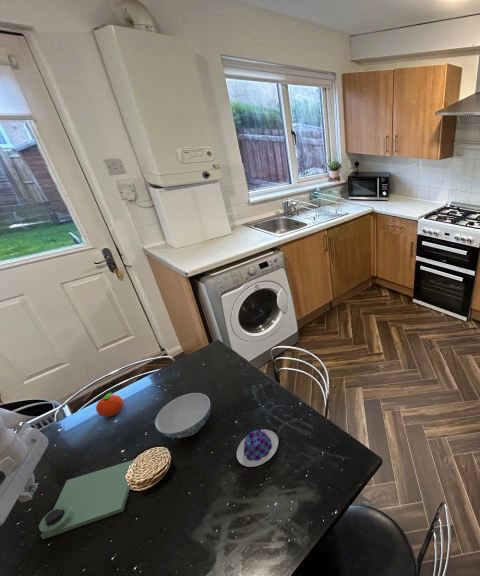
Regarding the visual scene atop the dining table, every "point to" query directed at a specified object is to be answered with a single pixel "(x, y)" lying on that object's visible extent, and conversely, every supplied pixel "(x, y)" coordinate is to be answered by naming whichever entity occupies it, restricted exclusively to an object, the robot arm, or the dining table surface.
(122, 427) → the dining table surface
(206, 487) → the dining table surface
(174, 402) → the chinaware
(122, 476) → the scale
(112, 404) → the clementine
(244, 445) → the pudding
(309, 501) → the dining table surface
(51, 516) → the button
